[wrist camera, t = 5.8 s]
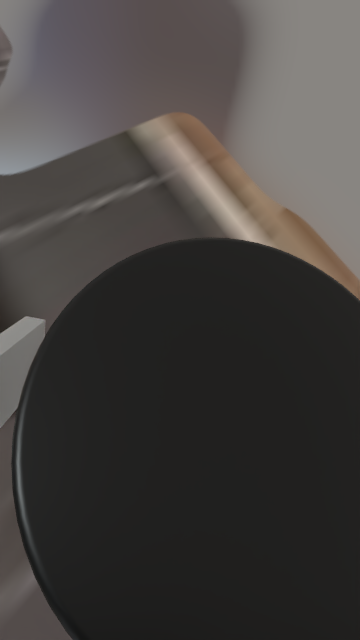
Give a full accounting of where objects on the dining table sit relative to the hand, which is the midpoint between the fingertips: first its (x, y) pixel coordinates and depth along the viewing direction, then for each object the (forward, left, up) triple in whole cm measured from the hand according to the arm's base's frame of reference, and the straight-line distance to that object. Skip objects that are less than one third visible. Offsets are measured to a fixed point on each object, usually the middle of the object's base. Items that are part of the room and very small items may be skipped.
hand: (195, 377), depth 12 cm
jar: (+1, -1, -6) cm, 6 cm away
